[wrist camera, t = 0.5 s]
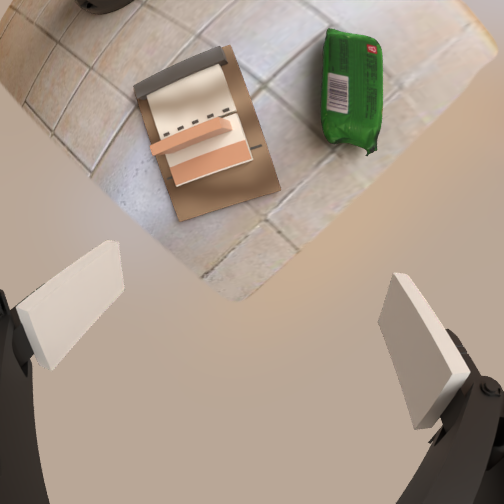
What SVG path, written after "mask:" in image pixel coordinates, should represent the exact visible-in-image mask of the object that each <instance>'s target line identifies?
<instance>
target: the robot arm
mask: <svg viewBox="0 0 504 504" xmlns="http://www.w3.org/2000/svg"><path fill="white" fill-rule="evenodd" d="M131 1H133V0H75V2H76V3H77V4H78V5H79V6H80V7H81V8H82V9H84V10H86V11H88V12H91V13H94V14H104V13H109V12H112V11H115V10H117V9H119V8H121V7H123V6H125V5H127V4H128V3H130V2H131ZM124 290H125V288H124V281H123V274H122V266H121V257H120V248H119V241H111V240H106V241H104V242H103V243H102V244H100V245H99V246H97V247H96V248H94V249H93V250H91V251H90V252H88V253H87V254H85V255H84V256H82V257H81V258H79V259H78V260H77V261H75V262H74V263H72V264H71V265H70V266H68V267H67V268H65V269H64V270H63V271H61V272H60V273H59V274H57V275H56V276H55V277H53V278H52V279H51V280H49V281H48V282H47V283H44V284H43V285H42V286H40V287H39V288H38V289H36V291H34V292H32V293H31V294H30V296H27V297H26V298H25V299H24V300H22V301H21V302H20V303H19V304H17V305H16V306H15V307H14V308H13V309H11V310H10V309H9V306H8V303H7V300H6V297H5V294H4V292H3V290H1V289H0V504H50V503H49V499H48V495H47V491H46V487H45V483H44V478H43V473H42V469H41V463H40V457H39V451H38V445H37V437H36V429H35V419H34V406H33V385H32V384H33V383H32V362H31V360H30V358H31V357H32V355H33V354H34V355H35V357H36V359H37V362H38V364H39V365H40V366H42V367H44V368H46V369H48V370H50V371H53V369H54V368H55V367H56V366H57V365H58V364H59V362H60V361H61V360H62V359H63V358H64V356H65V355H66V354H67V353H68V352H69V351H70V349H71V348H72V347H73V346H74V345H75V344H76V343H77V341H78V340H79V339H80V338H81V337H82V336H83V335H84V333H85V332H86V331H87V330H88V329H89V328H90V327H91V325H93V324H94V322H95V321H96V320H97V319H98V318H99V317H100V316H101V315H102V314H103V313H104V312H105V310H106V309H107V308H108V307H109V306H110V305H111V304H112V303H113V302H114V301H115V300H116V299H117V298H118V297H119V295H121V293H122V292H123V291H124ZM378 324H379V326H380V329H381V332H382V334H383V337H384V339H385V342H386V345H387V347H388V350H389V353H390V355H391V359H392V361H393V364H394V367H395V370H396V373H397V376H398V379H399V382H400V385H401V388H402V391H403V394H404V397H405V400H406V404H407V407H408V410H409V413H410V416H411V420H412V423H413V427H414V430H417V429H425V428H431V427H433V425H434V424H435V423H436V421H437V420H438V419H439V418H441V420H442V423H443V425H442V427H441V428H440V429H439V430H438V431H437V433H436V434H435V435H434V436H433V437H432V439H431V440H430V441H429V442H428V443H431V442H432V441H433V443H432V444H431V446H430V448H429V450H428V452H427V454H426V456H425V457H424V459H423V461H422V463H421V465H420V466H419V468H418V470H417V472H416V473H415V475H414V476H413V478H412V480H411V481H410V483H409V484H408V486H407V488H406V489H405V491H404V492H403V494H402V495H401V497H400V498H399V500H398V501H397V503H396V504H504V391H503V390H502V388H501V386H500V384H499V383H498V382H497V381H496V380H494V379H492V378H491V377H488V376H481V375H480V373H479V371H478V369H477V368H476V366H475V364H474V363H473V361H472V359H471V357H470V356H469V354H467V351H466V349H465V348H464V347H463V345H462V343H461V341H460V340H459V338H458V337H457V336H456V335H455V334H454V333H453V332H452V331H450V330H449V329H445V328H444V327H443V325H442V324H441V322H440V321H439V319H438V318H437V316H436V314H435V313H434V311H433V310H432V309H431V307H430V306H429V304H428V303H427V301H426V300H425V299H424V297H423V295H422V294H421V293H420V291H419V290H418V288H417V287H416V286H415V284H414V283H413V281H412V280H411V279H410V277H409V276H408V275H407V274H402V273H393V275H392V278H391V281H390V285H389V289H388V292H387V295H386V298H385V301H384V305H383V308H382V311H381V314H380V317H379V320H378Z"/></svg>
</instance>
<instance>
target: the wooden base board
mask: <svg viewBox="0 0 504 504" xmlns="http://www.w3.org/2000/svg"><path fill="white" fill-rule="evenodd" d="M133 87H134V92H135V95H136V98H137V101H138V105H139V108H140V111H141V114H142V117H143V120H144V123H145V126H146V130H147V133H148V136H149V139H150V142H151V145H152V144H154V143H156V142H159V141H161V140H163V139H165V138H167V137H170V136H172V135H174V134H177V133H179V132H181V131H184V130H186V129H188V128H191V127H193V126H196V125H198V124H201V123H203V122H206V121H208V120H211V119H214V118H216V117H220V118H224V117H227V116H230V115H232V114H235V113H236V114H238V116H239V119H240V122H241V125H242V128H243V131H244V134H245V136H246V139H247V142H248V145H249V148H250V151H251V154H252V157H253V160H252V161H249V162H246V163H243V164H239V165H236V166H233V167H230V168H227V169H225V170H222V171H219V172H216V173H213V174H210V175H207V176H205V177H202V178H199V179H196V180H194V181H191V182H188V183H185V184H183V185H180V186H178V187H177V186H176V184H175V182H174V179H173V176H172V173H171V171H170V167H169V164H168V161H167V158H166V155H165V154H162V155H156V159H157V162H158V165H159V168H160V170H161V173H162V176H163V179H164V182H165V184H166V187H167V190H168V193H169V195H170V198H171V201H172V203H173V206H174V209H175V211H176V214H177V217H178V219H179V222H181V221H184V220H187V219H190V218H193V217H196V216H199V215H202V214H206V213H209V212H212V211H215V210H218V209H221V208H224V207H228V206H231V205H234V204H237V203H240V202H244V201H247V200H250V199H254V198H257V197H260V196H264V195H267V194H270V193H274V192H277V191H281V187H280V184H279V181H278V178H277V175H276V172H275V169H274V165H273V162H272V159H271V156H270V153H269V150H268V147H267V144H266V141H265V138H264V135H263V132H262V129H261V127H260V124H259V121H258V118H257V115H256V112H255V109H254V106H253V104H252V101H251V98H250V95H249V92H248V90H247V87H246V84H245V82H244V79H243V76H242V73H241V71H240V68H239V65H238V63H237V60H236V58H235V55H234V52H233V50H232V47H231V46H230V45H227V46H225V47H222V48H221V47H220V46H218V47H215V48H213V49H210V50H208V51H205V52H203V53H200V54H198V55H195V56H193V57H191V58H188V59H186V60H184V61H182V62H179V63H177V64H175V65H173V66H171V67H169V68H167V69H164V70H162V71H160V72H158V73H156V74H154V75H152V76H150V77H149V78H147V79H145V80H143V81H141V82H139V83H137V84H136V85H134V86H133Z"/></svg>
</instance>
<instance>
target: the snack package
mask: <svg viewBox="0 0 504 504" xmlns="http://www.w3.org/2000/svg"><path fill="white" fill-rule="evenodd" d="M382 111H383V59H382V49H381V46H380V45H379V43H378V42H377V41H376V40H375V39H374V38H371V37H369V36H365V35H359V34H352V33H346V32H341V31H337V30H335V29H330V28H328V29H327V32H326V38H325V43H324V47H323V76H322V91H321V122H322V128H323V132H324V135H325V137H326V139H327V141H328V142H330V143H332V144H337V143H350V144H353V145H355V146H358V147H361V148H364V149H365V150H366V151H367V155H365V156H368V155H369V154H370V153H373V152H374V151H377V138H378V135H379V132H380V129H381V123H382Z"/></svg>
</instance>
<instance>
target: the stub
mask: <svg viewBox="0 0 504 504" xmlns="http://www.w3.org/2000/svg"><path fill="white" fill-rule="evenodd" d="M150 149H151V152H152V155H153V156H156V155H162V154H165V155H166V158H167V161H168V164H169V167H170V171H171V173H172V176H173V179H174V182H175V184H176V186H177V187H178V186H180V185H183V184H185V183H188V182H191V181H194V180H196V179H199V178H202V177H205V176H207V175H210V174H213V173H216V172H219V171H222V170H225V169H227V168H230V167H233V166H236V165H239V164H243V163H246V162H249V161H252V160H253V157H252V154H251V151H250V148H249V145H248V142H247V139H246V136H245V134H244V131H243V128H242V125H241V122H240V119H239V116H238V114H236V113H235V114H232V115H230V116H227V117H224V118H220V117H216V118H214V119H211V120H208V121H206V122H203V123H201V124H198V125H196V126H193V127H191V128H188V129H186V130H184V131H181V132H179V133H177V134H174V135H172V136H170V137H167V138H165V139H163V140H161V141H159V142H156V143H154V144H152V145H150Z"/></svg>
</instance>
